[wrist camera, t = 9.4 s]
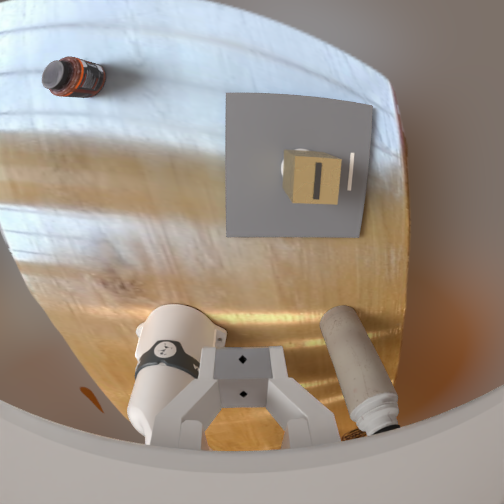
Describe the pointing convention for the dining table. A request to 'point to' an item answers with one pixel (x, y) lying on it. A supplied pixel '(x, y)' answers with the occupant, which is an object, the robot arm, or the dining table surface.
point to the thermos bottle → (360, 372)
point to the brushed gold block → (311, 177)
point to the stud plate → (272, 159)
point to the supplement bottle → (73, 78)
